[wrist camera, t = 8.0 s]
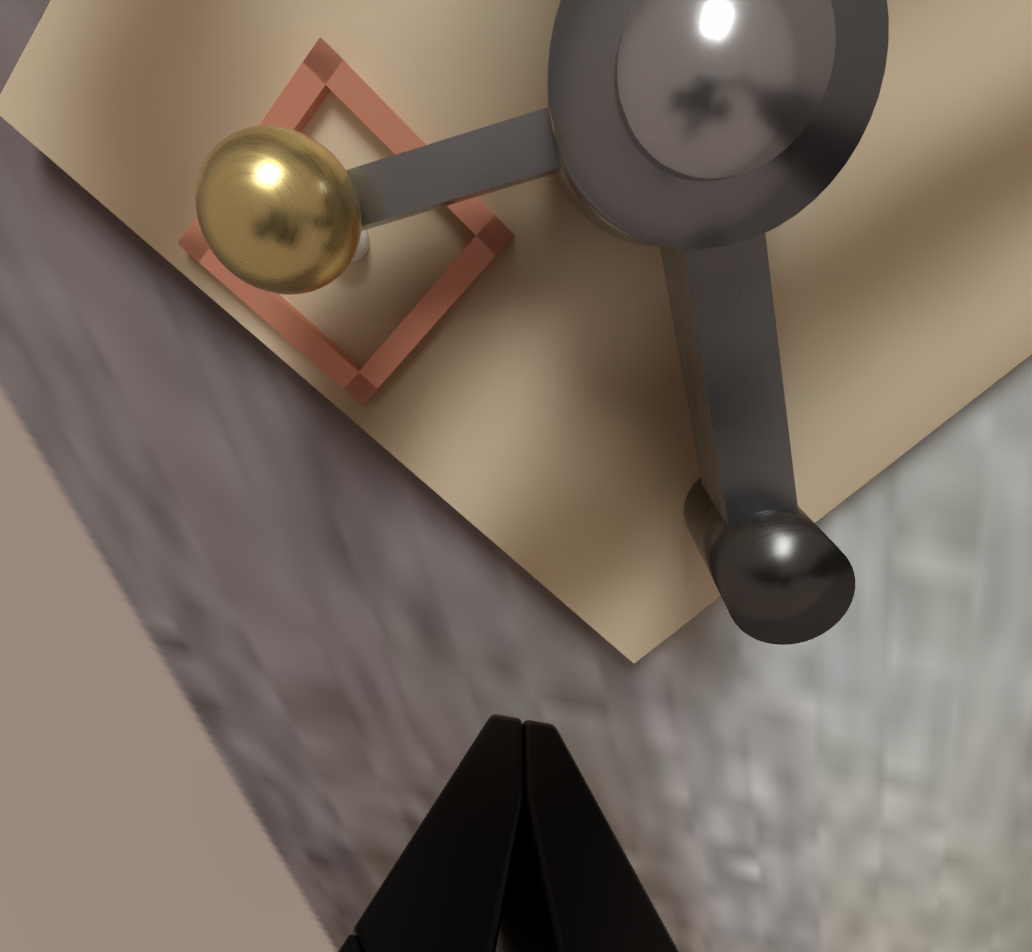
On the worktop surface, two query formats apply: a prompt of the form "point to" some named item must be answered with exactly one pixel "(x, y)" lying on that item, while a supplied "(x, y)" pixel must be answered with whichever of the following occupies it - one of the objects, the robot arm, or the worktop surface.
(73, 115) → the board
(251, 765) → the worktop surface
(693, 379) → the bell crank
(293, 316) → the level window
